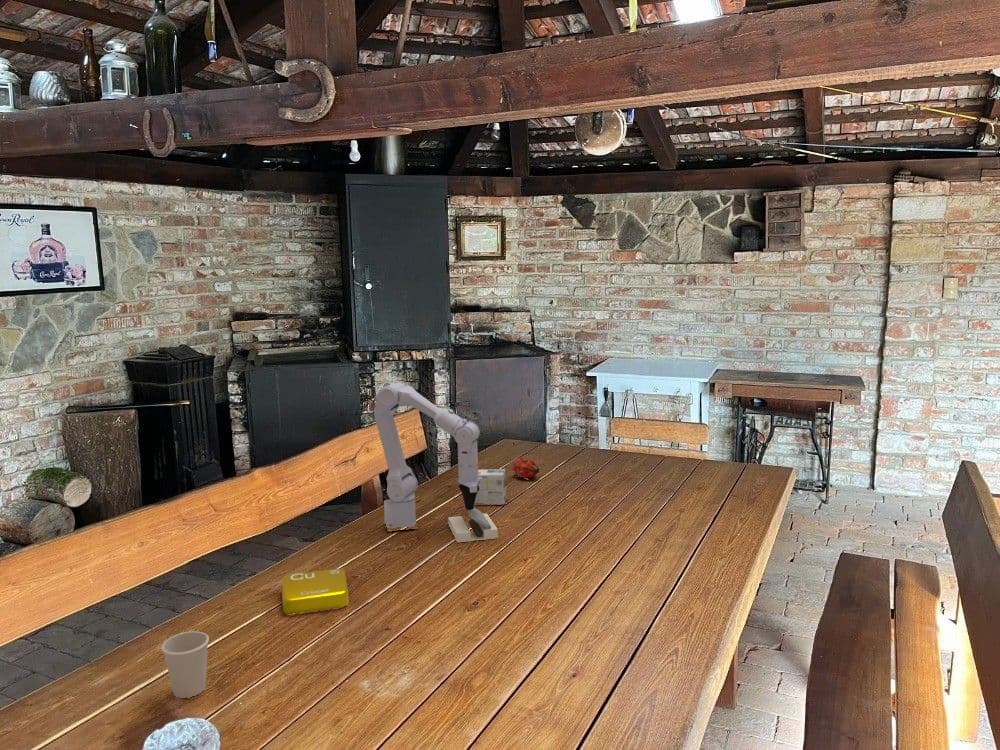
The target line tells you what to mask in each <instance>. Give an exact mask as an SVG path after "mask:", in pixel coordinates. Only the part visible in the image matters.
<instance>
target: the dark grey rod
mask: <svg viewBox="0 0 1000 750" xmlns="http://www.w3.org/2000/svg"><path fill="white" fill-rule="evenodd" d="M468 523H469V525H470V526H471V528H472V529H473V531H474V533H475V534H476V536H477V537H481V536H482V535H483V532H482V531H481V529H480V528H479V526H478V525H477V523H476V522H475V520H473V519H472V518H471V519H469V521H468Z"/></svg>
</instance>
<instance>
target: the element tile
mask: <svg viewBox="0 0 1000 750" xmlns="http://www.w3.org/2000/svg"><path fill="white" fill-rule="evenodd" d="M346 577H347V576H346V572H345V570H344V569H343V568H338V567H337V568H331V569H324V570H316V571H309V572H299V573H291V574H286V575H285V576H284V577H283V578H282V592H281V593H282V594H281V595H282V596H281V597H282V599H281V600H282V612H283V611H284V613H287V614H293V613H300V612H307V611H315V610H324V609H333V608H341V607H344V606H346V605H348V603H349V600H350V599H349V589H348V588H349V587H348V583H347V582H348V581H347V578H346ZM348 606H349V605H348ZM284 613H283V614H284Z"/></svg>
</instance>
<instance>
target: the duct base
mask: <svg viewBox="0 0 1000 750" xmlns="http://www.w3.org/2000/svg"><path fill="white" fill-rule="evenodd" d="M482 514H483V515H484V517H485V518H486V520H487V521H488V523H489V524H490V526H491V528H490V529H489V528H487V527H485V526H484V525H482V524H480V523H479V522H477V521H475V522H476V523H477V525H478V526H479V528H480V529H481V531H482V532H483V535H482V536H481V537H477V536H476V534H475V533H473V534H471V533H472V532H470V530H469V529H468V527H467V525H466V523H467V522H465V520H464V518H463V517H462V515H458V516H457V515H456V516H448V518H447V519H448V520H447V523H448V524H449V526H448V528H449V527H450V529H451V531H452V533H453V535H454V537H455V539H456V541H457V542H466V541H474V540H486V539H494V538H498V539H499V530H498V527H497V526H496V525H495V523H494V521H493V520H492V519H491V518H490V516H489V515H488V513H482ZM450 529H449V530H450ZM451 531H450V532H451ZM473 532H474V531H473ZM452 533H451V534H452ZM453 535H452V536H453ZM454 537H453V538H454ZM455 539H454V540H455ZM456 541H455V542H456ZM486 541H487V540H486Z"/></svg>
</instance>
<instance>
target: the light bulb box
mask: <svg viewBox="0 0 1000 750" xmlns="http://www.w3.org/2000/svg"><path fill="white" fill-rule="evenodd" d="M478 477H482V481H479V482H478V486H479V491H478V493H477V495H476V499H475V503H484V504H505V505H506V502H507V484H506V483H507V481H506V479H507V478H506V469H505V468H504V469H503V468H502V469H478ZM505 501H506V502H505Z"/></svg>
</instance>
